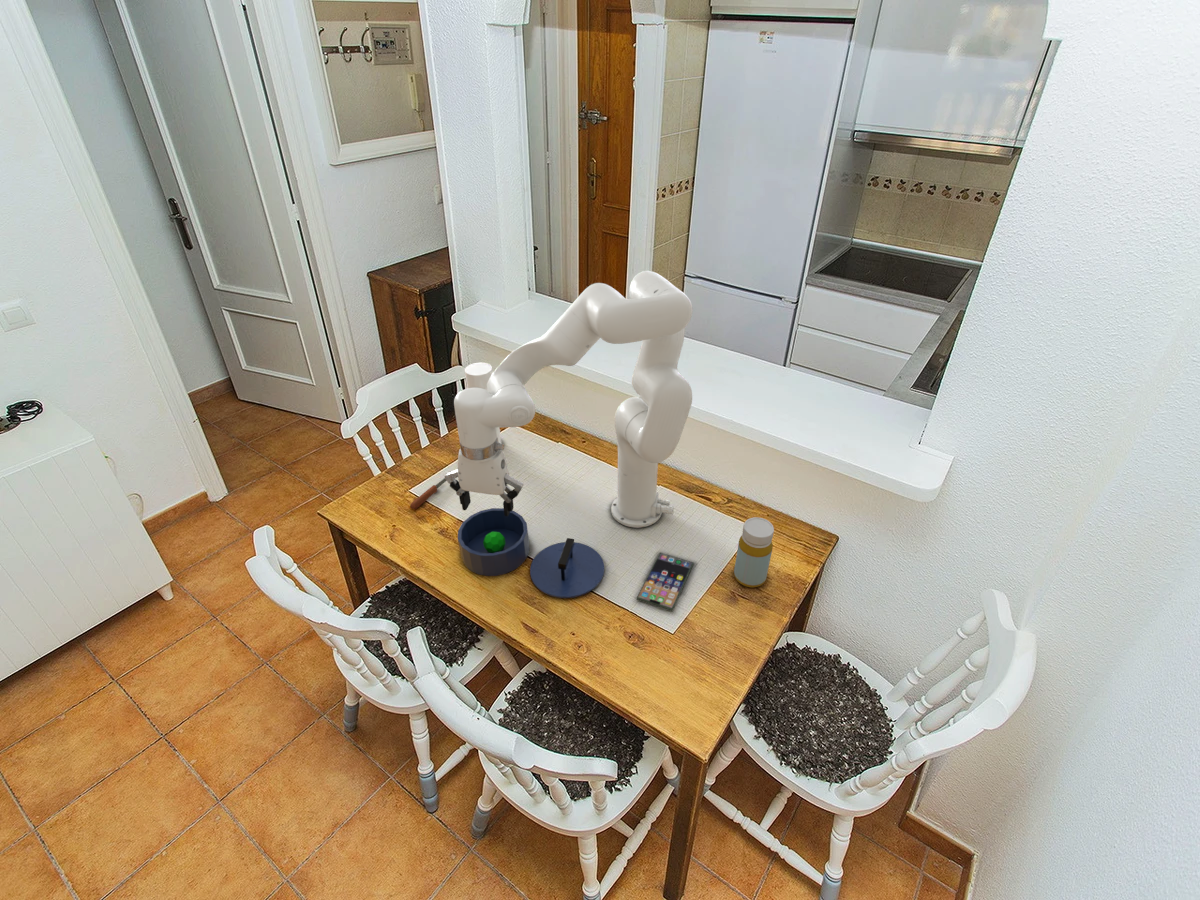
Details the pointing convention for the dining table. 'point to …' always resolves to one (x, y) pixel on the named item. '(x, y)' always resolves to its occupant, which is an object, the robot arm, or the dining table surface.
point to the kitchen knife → (426, 495)
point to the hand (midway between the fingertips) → (487, 509)
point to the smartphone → (665, 581)
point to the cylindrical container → (480, 380)
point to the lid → (567, 569)
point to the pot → (475, 533)
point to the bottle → (754, 552)
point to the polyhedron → (494, 542)
